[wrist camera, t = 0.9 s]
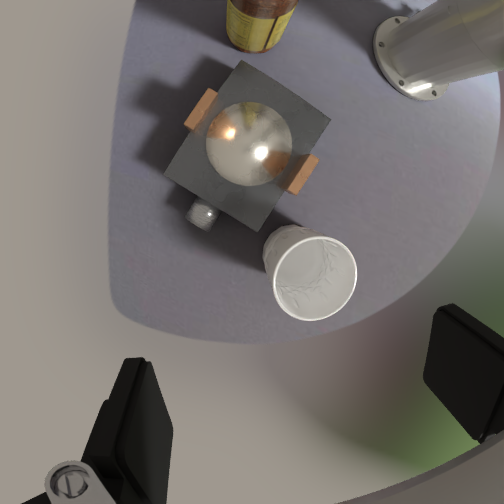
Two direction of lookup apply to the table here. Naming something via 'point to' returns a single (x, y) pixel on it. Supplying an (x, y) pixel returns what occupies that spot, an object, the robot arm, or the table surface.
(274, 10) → the sauce bottle
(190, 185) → the block
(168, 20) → the table surface
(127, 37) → the table surface
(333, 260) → the white cup
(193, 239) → the table surface
